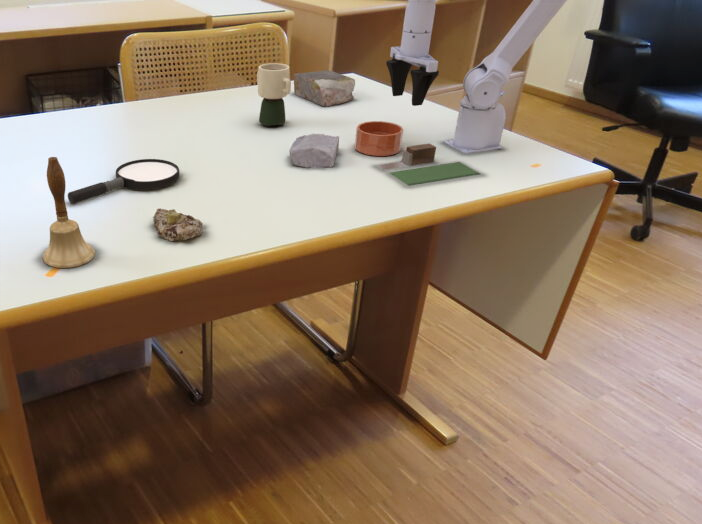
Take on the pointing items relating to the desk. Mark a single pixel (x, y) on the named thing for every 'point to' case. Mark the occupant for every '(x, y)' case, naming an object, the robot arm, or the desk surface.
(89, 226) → the desk surface
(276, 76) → the character mug
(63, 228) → the hand bell
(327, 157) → the stone block
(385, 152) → the bowl
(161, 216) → the mineral rock
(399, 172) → the green flat rectangular slab
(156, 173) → the magnifying glass
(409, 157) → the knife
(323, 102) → the geological specimen
